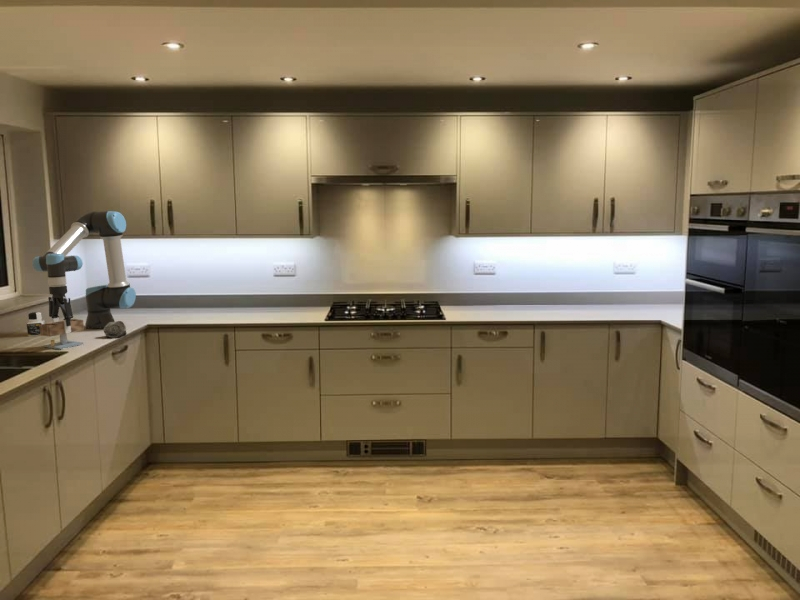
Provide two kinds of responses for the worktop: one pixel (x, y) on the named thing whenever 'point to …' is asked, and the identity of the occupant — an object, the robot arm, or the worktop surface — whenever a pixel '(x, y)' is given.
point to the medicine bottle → (34, 323)
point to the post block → (63, 343)
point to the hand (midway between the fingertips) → (62, 331)
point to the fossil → (115, 329)
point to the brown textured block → (60, 327)
